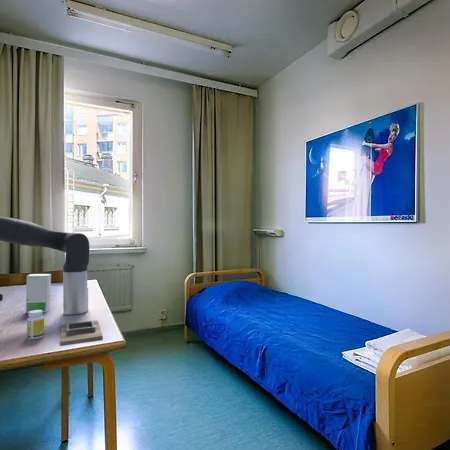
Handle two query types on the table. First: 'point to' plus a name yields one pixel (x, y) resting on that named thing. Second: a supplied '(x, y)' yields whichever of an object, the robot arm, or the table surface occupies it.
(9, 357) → the table surface
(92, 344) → the table surface
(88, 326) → the seat board
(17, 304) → the table surface
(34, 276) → the skincare box
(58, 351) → the table surface
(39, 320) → the supplement bottle
